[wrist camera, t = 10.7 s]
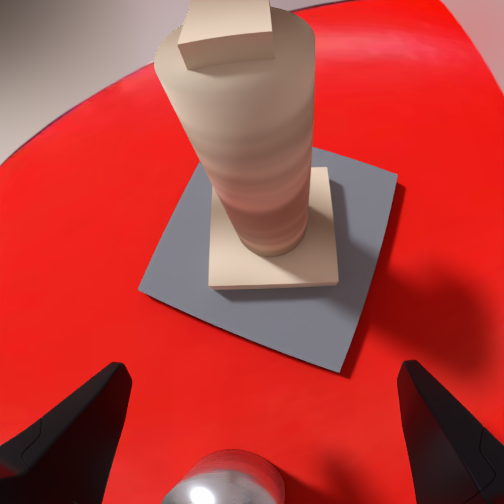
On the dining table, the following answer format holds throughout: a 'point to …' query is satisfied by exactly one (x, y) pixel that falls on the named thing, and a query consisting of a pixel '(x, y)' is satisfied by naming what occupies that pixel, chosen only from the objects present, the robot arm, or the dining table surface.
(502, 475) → the robot arm
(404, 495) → the dining table surface
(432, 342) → the dining table surface
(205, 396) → the dining table surface
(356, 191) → the mat
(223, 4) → the beige stacked pedestal
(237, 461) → the steel tin
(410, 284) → the dining table surface
